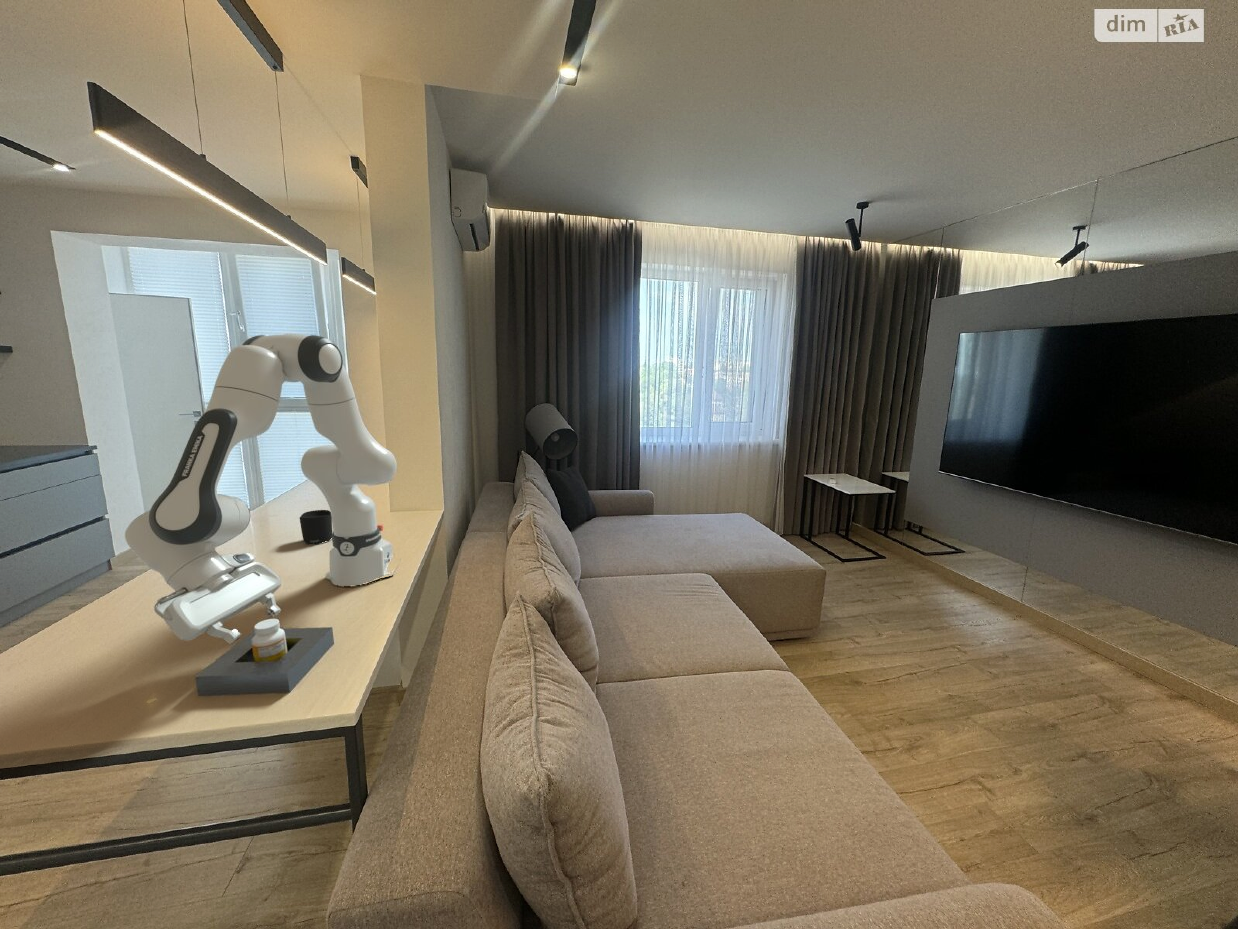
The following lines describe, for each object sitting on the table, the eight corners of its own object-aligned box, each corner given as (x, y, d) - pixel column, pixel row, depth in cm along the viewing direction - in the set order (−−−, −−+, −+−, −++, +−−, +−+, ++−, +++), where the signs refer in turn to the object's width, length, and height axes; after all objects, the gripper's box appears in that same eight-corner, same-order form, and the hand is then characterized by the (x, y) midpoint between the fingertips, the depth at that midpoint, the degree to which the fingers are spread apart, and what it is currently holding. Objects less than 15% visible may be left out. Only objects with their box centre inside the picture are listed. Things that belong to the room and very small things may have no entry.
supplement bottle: (260, 662, 95) (254, 619, 93) (292, 657, 97) (286, 614, 95) (251, 678, 90) (245, 633, 88) (284, 672, 92) (278, 628, 90)
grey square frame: (257, 646, 100) (255, 629, 99) (334, 643, 102) (332, 627, 101) (198, 696, 85) (194, 676, 84) (289, 692, 86) (287, 673, 85)
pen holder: (295, 543, 160) (292, 516, 158) (320, 534, 169) (317, 508, 167) (316, 546, 157) (313, 519, 155) (340, 538, 166) (337, 511, 164)
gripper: (157, 593, 80) (217, 647, 81) (257, 549, 100) (304, 593, 101) (138, 615, 81) (198, 668, 82) (241, 567, 101) (288, 610, 102)
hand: (257, 626), depth 92 cm, fingers open, 8 cm apart
